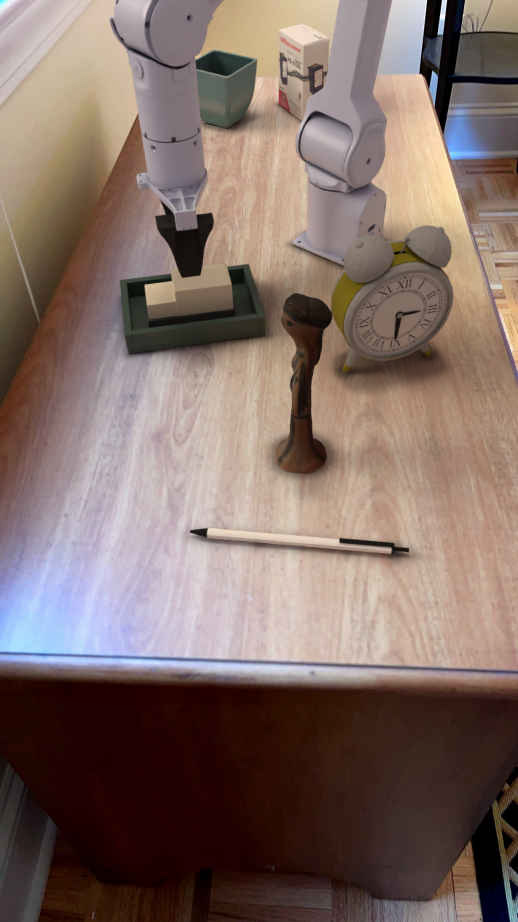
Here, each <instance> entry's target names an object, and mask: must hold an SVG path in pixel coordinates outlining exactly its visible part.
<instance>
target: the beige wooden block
mask: <svg viewBox="0 0 518 922" xmlns="http://www.w3.org/2000/svg"><path fill="white" fill-rule="evenodd" d="M227 267H228V265H227V263H218V264H211V265H210V264H209V265H203V266H202V271H201V275H200V276H194V277H186V278H182V277H181V275H180V273H179V271H178V268H177V269H171V270H170V274H171V276H172V281H170V282H163V283H155V284H147V285H145V293H146V298H145V301H146V309H147V317H148V324H149V328H153V327H161V326H168V325H176V324H183V323H191V322H198V321H206V320H213V319H221V318H228V317H236V314H235V307H234V303H233V296H232V283H231V280H230V276H229V272H228V269H227Z"/></svg>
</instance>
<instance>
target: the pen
mask: <svg viewBox="0 0 518 922" xmlns="http://www.w3.org/2000/svg"><path fill="white" fill-rule="evenodd" d="M187 532H188V533H189V534H193V535H196V536H199V537H203V538H206V539H214V540H216V539H217V540H225V541H238V542H249V543H260V544H262V543H263V544H272V545H283V546H294V547H307V548H317V549H318V548H319V549H331V550H340V551H351V552H362V553H363V552H365V553H375V554H387V555H388V554H389V555H394V554H395V552H398V553H399V552H400V553H410V547H403V546H395V545H396V544H395V542H391V541H381V540H380V541H379V540H368V539H358V538H357V539H356V538H346V537H339V538H334V537H333V538H332V537H320V536H309V535H297V534H285V533H275V532H274V533H272V532H260V531H251V530H250V531H249V530H239V529H238V530H237V529H226V528H216V527H205V528H196V529H190V530H188V531H187Z"/></svg>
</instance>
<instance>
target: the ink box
mask: <svg viewBox="0 0 518 922" xmlns="http://www.w3.org/2000/svg"><path fill="white" fill-rule="evenodd" d="M329 58H330V38H329V36H328V35H325V34H324V33H322V32H321V31H319V30H318V29H315V28H313V27H311V25H308V24H306V23H299V24H295V25H291V26H288V27H284V28H280V29H278V101H277V102H278V105H279V106H281V107H282V108H283V109H285V110H286V111H287V112H289V113H290V114H291V115H293V116H294V117H296V119H298V120H299V121H301V122H302V120H303V118H304V115H305V112H306V106H307V100H308V99H309V98H310V97H311V96H313V95H314V94H316V93H317V92H318V91H320V90H321V89H323V88H324V87H325V83H326V77H327V71H328V65H329Z"/></svg>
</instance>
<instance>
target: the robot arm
mask: <svg viewBox="0 0 518 922" xmlns="http://www.w3.org/2000/svg"><path fill="white" fill-rule="evenodd" d="M224 1H225V0H115V1H114V7H113V16H111V17H109V24H110V27H111V31H112V33H113V35H114V37H115V39H116V40H117V41H118V42H119V43H120V44H121V45H122V47H123V48H124V49H125V51H126V54H127V58H128V65H129V67H130V70H131V75H132V82H133V89H134V95H135V96H134V97H135V102H136V108H137V115H138V121H139V129H140V134H141V140H142V147H143V153H144V158H145V159H144V160H145V166H146V172H142V173H141V172H140V173H138V174H137V175H136V178H135V179H136V183H137V188H138V189H139V190H149V191H151V192H152V194H154V195H155V196H156V197H157V198H158V199H159V201H160V204H161V206H162V208H163V211H164V214H158V215H155V216H154V218H155V224H156V225H155V226H156V229H157V231H158V233H159V234H160V236H161V237H162V238H163V240H164V241H165V242H166V243H167V245H168V247H169V249H170V251H171V254H172V256H173V259H174V262H175V265H176V268H177V269H178V271H179V273H180V275H181V277H182V278H186V277H194V276H200V275H201V271H202V266H204V259H205V258H204V257H205V249H206V245H207V241H208V238H209V237H210V234H211V233H212V231H213V229H214V225H215V217H214V214H213V212H205V213H197V208H198V205H199V203H200V201H201V198H202V196H203V193H204V192H205V189H206V187H207V184H208V182H209V176H208V174H209V173H208V170H207V168H206V163H205V153H204V152H205V151H204V141H203V129H202V119H201V118H200V107H199V96H198V84H197V73H196V62H195V59H196V57H197V56H199V55H200V54H201V52H202V50H203V48H204V46H205V42H206V39H207V34H208V29H209V25H210V23H211V22H212V21H213V19H214V14H215V13H216V10H217V9H218V8H219V6H220V5H221V4H223V2H224ZM392 3H393V0H338V4H337V11H336V16H335V17H336V18H335V23H334V29H333V36H332V41H331V48H330V52H329V58H328V71H327V77H326V83H325V87H324V88H323V89H321V90H320V91H318V92H317V93H316V94H314V95H313V96H311V97H310V98H309V99H308V100H307V106H306V112H305V115H304V118H303V120H302V121H301V122H300V124H299V127H298V129H297V132H296V135H295V152H296V154H297V156H298V158H299V159H300V161H302V162H303V163H304V173H307V176H308V179H307V204H306V205H307V207H306V230H304V231H303V232H302V233H300V234H299V235H297V236H296V237H295V238H294V239H293V240H292V245H294V246H295V247H297V248H301V249H303V250H305V251H308V252H310V253H312V254H314V255H317V256H318V257H319V256H320V257H322V258H324V259H326V260H329V261H331V262H334V263H335V264H338V265H340V266H343V267H344V257H345V254H346V252H347V250H348V248H349V246H350V245H351V244H352V243H353V242H354V241H355V240H357V239H358V238H360V237H363V236H367V235H374V236H378V237H381V238H383V239H384V240H385V237H383V232H384V224H385V216H386V208H387V194H386V192H385V191H384V190H383V189H381V188H380V187H378V186H377V185H376V184H374V183H373V182H372V181H373V180H374V179H375V178H376V177H377V175H378V174H379V172H380V171H381V169H382V167H383V164H384V162H385V157H386V139H385V137H386V129H387V125H388V118H387V116H386V115H385V112H384V111H383V109H382V106H380V104H379V102H378V100H377V98H376V97H375V94H374V89H375V84H376V78H377V75H378V70H379V66H380V61H381V56H382V51H383V46H384V42H385V37H386V31H387V26H388V22H389V18H390V13H391V7H392Z"/></svg>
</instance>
